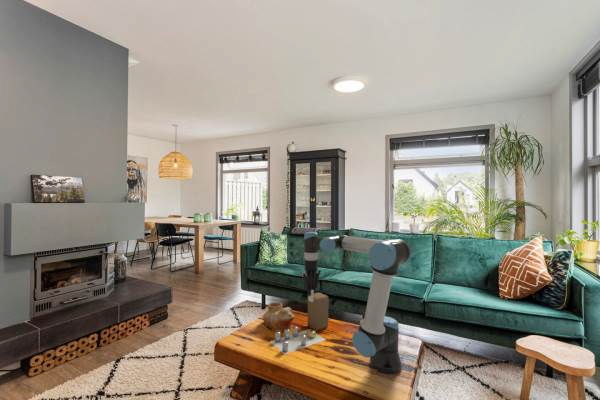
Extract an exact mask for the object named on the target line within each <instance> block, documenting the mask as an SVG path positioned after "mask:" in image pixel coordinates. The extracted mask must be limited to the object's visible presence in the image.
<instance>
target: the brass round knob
mask: <svg viewBox="0 0 600 400" xmlns="http://www.w3.org/2000/svg"><path fill="white" fill-rule="evenodd" d="M309 329H310V328H309ZM306 330H307V337H308V338H311V339H312V338H315V335H316V334H317V333H316V331H317V330H315V329H313V328H311V329H310V330H308V329H306Z"/></svg>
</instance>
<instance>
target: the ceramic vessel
mask: <svg viewBox="0 0 600 400" xmlns="http://www.w3.org/2000/svg"><path fill="white" fill-rule="evenodd" d="M267 306H268V307H267V308H268V310H266V312H265V313H264V314H263V316H262V321H263V323H264V325H265V328H268V329H269V330H270V331H273V332H274V333H275V332H277V331H279V332H281V334H282V333H284V330H285V329H289V330H290V331H291V330H293V327H292V324H293V323H292V322H293V321H294V319H295V318H296V315H294V314H293V310H292V308H291V307H290V306H289V307H288V306H287V307H283V304H282V302H278V301H274V302H269V303H268V305H267Z"/></svg>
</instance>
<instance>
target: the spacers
mask: <svg viewBox="0 0 600 400" xmlns="http://www.w3.org/2000/svg"><path fill="white" fill-rule="evenodd" d="M290 331H291V329H290V330H289V329H285V330H284V332H283V334H284V335H283V337H284V339H285V340H284V341H282V352H284V353H286V352H288V341H287V340H289V339H290V335H291V334H290V333H291V332H290ZM298 333H299V327H298V326H297V325H295V326H293V327H292V334H293V336H294V337H298ZM274 334H275V335H274V337H275V338H274V340H275V342H276V343H279V342H281V338H282V336H281V334H282V333H281V332H279V331H277V332H275V331H274ZM301 346H306V335H304V334H303V335H301ZM282 352H281V353H282Z"/></svg>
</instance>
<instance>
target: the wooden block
mask: <svg viewBox="0 0 600 400" xmlns="http://www.w3.org/2000/svg"><path fill="white" fill-rule="evenodd" d="M307 326H309V328H311V329H312V330H315V331H320V330H323V329H326V328H328V327H329V296H328V295H326V294H323V293H322V292H314V301H313V302H311V301H309V296H308V295H307Z"/></svg>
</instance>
